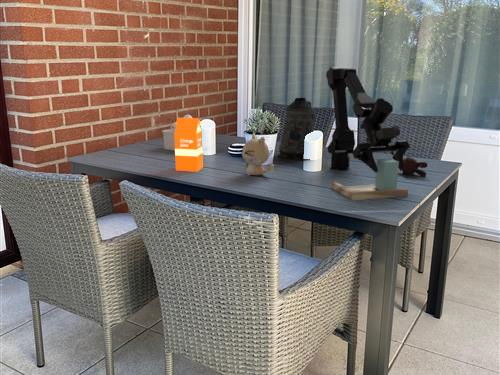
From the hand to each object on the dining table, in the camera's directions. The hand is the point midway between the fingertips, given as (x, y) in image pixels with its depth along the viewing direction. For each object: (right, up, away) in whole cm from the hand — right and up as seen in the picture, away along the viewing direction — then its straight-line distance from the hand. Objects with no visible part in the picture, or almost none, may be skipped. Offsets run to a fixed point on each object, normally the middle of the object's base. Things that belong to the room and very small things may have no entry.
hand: (389, 171), depth 163 cm
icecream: (+14, 0, +26) cm, 30 cm away
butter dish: (-74, +13, +73) cm, 105 cm away
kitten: (-44, -1, +25) cm, 50 cm away
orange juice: (-69, +2, +33) cm, 77 cm away
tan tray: (-6, -7, +2) cm, 10 cm away
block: (0, -6, +3) cm, 7 cm away
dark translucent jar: (-24, +9, +58) cm, 64 cm away
